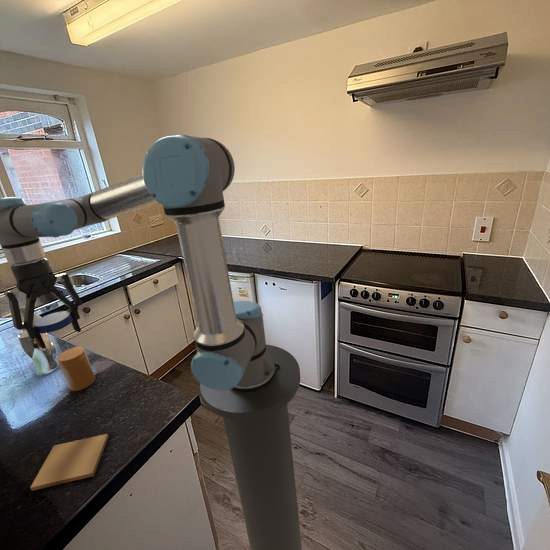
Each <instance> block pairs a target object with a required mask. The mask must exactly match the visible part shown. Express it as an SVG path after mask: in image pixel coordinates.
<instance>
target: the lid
mask: <svg viewBox="0 0 550 550" xmlns="http://www.w3.org/2000/svg"><path fill="white" fill-rule="evenodd" d="M41 317H42V318H40V319H38V320H37V321H36V322H35V323H34V325H36V326H37V328H38V330H39V332H40V333H47V334H49V333H53V332H56V331H59V330H62V329H64V328H66V327H67V326H69V325H71V324H72V323H71V322H72V321H73V318H72V316H71V314H70V312H68V311H67V310H61V311H56V312H51V313H49V314H46V315H43V316H41Z"/></svg>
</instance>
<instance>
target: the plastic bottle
mask: <svg viewBox="0 0 550 550" xmlns="http://www.w3.org/2000/svg"><path fill="white" fill-rule="evenodd" d="M20 313H21V319H22V323H24V314H25V306H23V307H20ZM42 317H43V316H41V315H39V314H37V313H35V312H34V318H33V324H34V323H35V322H36V321H37V320H38V319H40V318H42ZM24 330H26V329H21V332H22V331H24ZM46 334H47V336H48V338H49V341H50V344H51V350H52V355H53V357H54V356H56V354H57V353H56V352H57V350H56V347H55V345H54V344H53V342H52V341H51V339H50V337H49V335H48V333H46Z"/></svg>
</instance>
